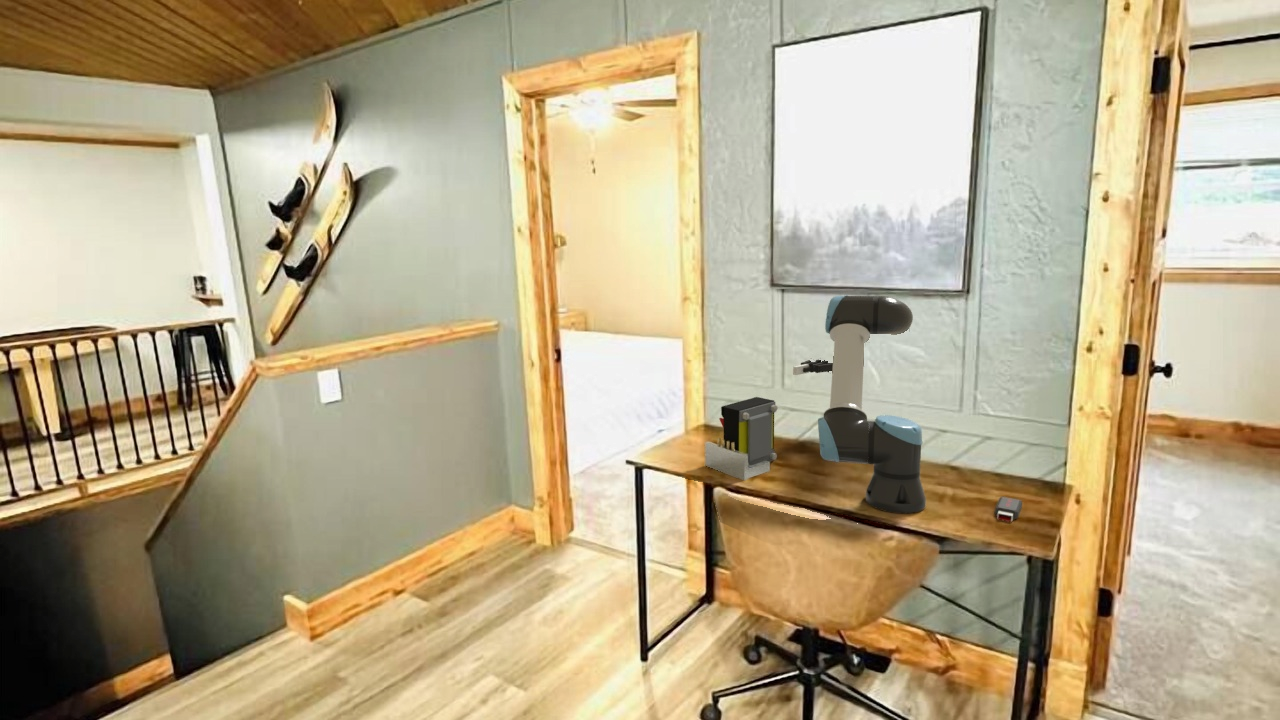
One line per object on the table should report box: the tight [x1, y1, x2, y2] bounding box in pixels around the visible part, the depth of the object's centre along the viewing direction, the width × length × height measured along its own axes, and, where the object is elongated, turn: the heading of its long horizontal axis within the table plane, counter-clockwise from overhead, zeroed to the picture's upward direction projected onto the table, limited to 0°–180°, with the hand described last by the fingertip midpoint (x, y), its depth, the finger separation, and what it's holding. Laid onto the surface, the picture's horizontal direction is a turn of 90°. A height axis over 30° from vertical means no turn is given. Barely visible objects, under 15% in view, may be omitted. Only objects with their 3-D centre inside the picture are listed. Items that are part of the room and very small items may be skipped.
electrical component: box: [719, 396, 778, 466], centre depth 209 cm, size 18×10×20 cm, turn 131°
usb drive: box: [994, 496, 1023, 523], centre depth 169 cm, size 5×12×3 cm, turn 144°
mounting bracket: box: [704, 437, 771, 481], centre depth 205 cm, size 17×12×10 cm
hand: (795, 370), depth 218 cm, fingers closed
